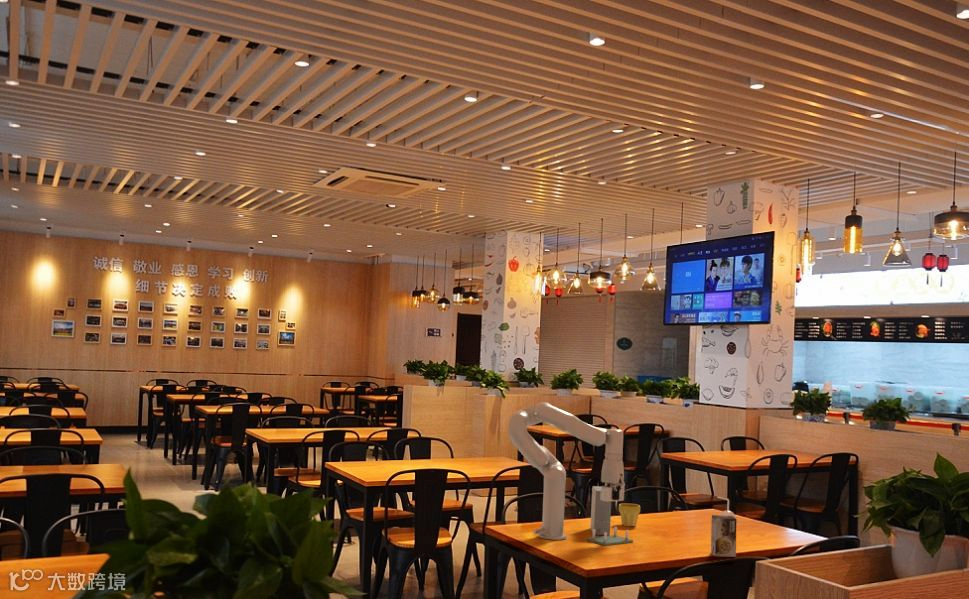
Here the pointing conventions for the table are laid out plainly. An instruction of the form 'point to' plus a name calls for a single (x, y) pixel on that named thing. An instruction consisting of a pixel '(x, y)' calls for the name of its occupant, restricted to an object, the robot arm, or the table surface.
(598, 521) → the hard drive box
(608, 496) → the white open box
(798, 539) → the table surface
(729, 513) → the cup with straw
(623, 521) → the plant pot
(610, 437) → the robot arm
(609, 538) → the pin tray
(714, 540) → the coffee box
